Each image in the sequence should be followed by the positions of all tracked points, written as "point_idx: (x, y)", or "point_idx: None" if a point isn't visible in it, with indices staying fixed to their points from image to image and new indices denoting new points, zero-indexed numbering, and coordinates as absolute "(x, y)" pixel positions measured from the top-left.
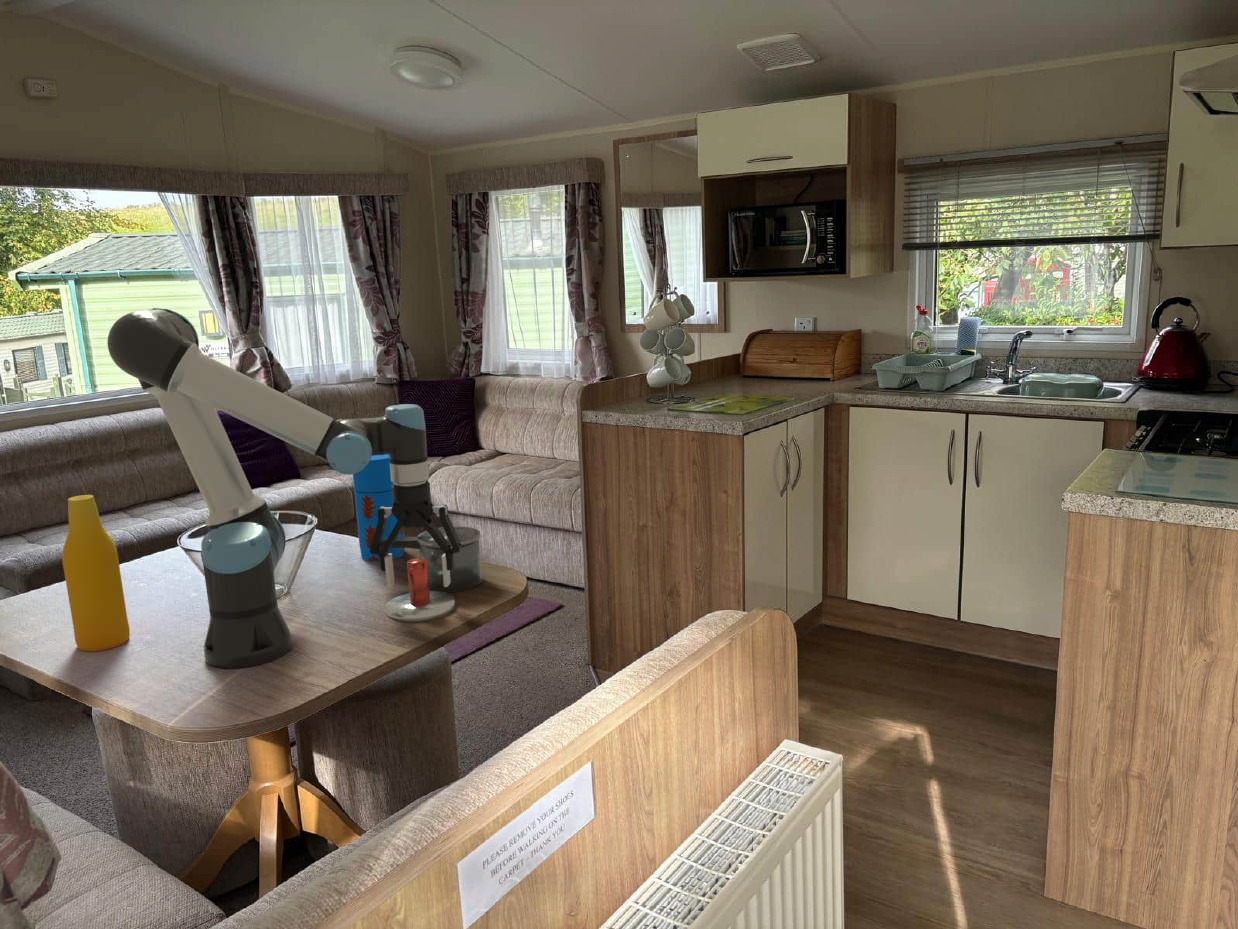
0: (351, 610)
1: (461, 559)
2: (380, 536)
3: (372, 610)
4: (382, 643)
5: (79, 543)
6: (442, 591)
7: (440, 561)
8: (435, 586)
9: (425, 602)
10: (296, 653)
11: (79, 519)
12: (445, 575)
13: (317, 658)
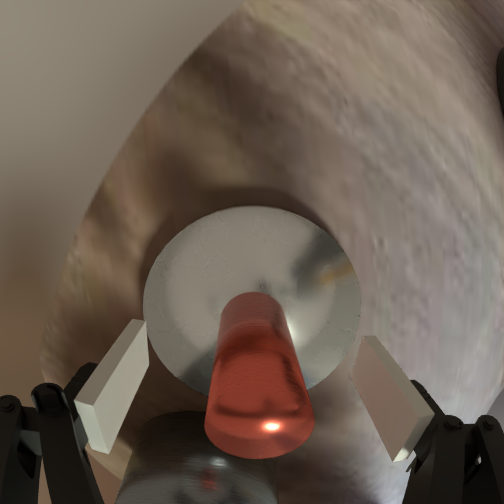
0: (434, 313)
1: (141, 478)
2: (489, 496)
3: (390, 311)
4: (321, 50)
5: None
6: None
7: (204, 481)
8: None
9: (230, 303)
10: (482, 68)
11: None
12: (119, 343)
13: (439, 24)
